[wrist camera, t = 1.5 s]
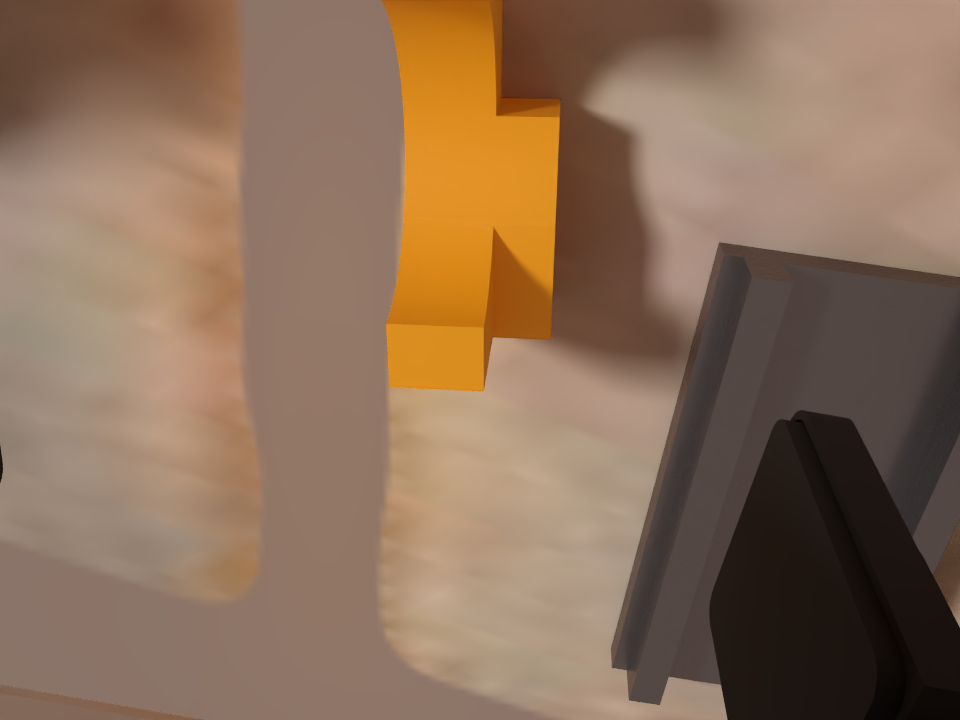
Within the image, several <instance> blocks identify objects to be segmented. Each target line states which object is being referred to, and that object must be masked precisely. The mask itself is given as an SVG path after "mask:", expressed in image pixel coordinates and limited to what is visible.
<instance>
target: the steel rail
mask: <svg viewBox="0 0 960 720" xmlns="http://www.w3.org/2000/svg"><path fill="white" fill-rule="evenodd" d="M799 410H804V411H810V412H816V413H821V414H827V415H833V416H839V417H844V418H849V419H851V420H852V421H853V423H854V424H855V426H856V428H857V430H858V432H859V434H860V436H861V438H862V440H863V442H864V444H865V446H866V448H867V450H868V452H869V454H870V456H871V457H872V459H873V461H874V463H875V465H876V467H877V469H878V471H879V473H880V475H881V477H882V479H883V481H884V483H885V485H886V487H887V489H888V491H889V493H890V495H891V497H892V499H893V501H894V503H895V504H896V506H897V508H898V510H899V512H900V514H901V516H902V518H903V520H904V522H905V524H906V526H907V528H908V530H909V532H910V534H911V536H912V538H913V540H914V542H915V544H916V546H917V548H918V550H919V551H920V553H921V554H922V555H923V557H924V559H925V561H926V563H927V565H928V567H929V569H930V571H931V573H932V575H933V574H934V572H935V570H936V567H937V565H938V563H939V561H940V559H941V557H942V555H943V553H944V551H945V549H946V547H947V545H948V543H949V540H950V538H951V536H952V534H953V532H954V530H955V528H956V526H957V524H958V522H959V520H960V277H953V276H946V275H939V274H932V273H925V272H918V271H911V270H904V269H898V268H891V267H884V266H877V265H870V264H863V263H856V262H849V261H842V260H836V259H829V258H822V257H815V256H808V255H801V254H794V253H787V252H780V251H773V250H767V249H760V248H753V247H746V246H739V245H732V244H725V243H719V246H718V249H717V253H716V257H715V261H714V264H713V268H712V272H711V276H710V279H709V283H708V287H707V291H706V295H705V298H704V302H703V306H702V310H701V313H700V317H699V321H698V325H697V328H696V332H695V336H694V340H693V343H692V347H691V351H690V355H689V358H688V362H687V366H686V370H685V373H684V377H683V381H682V385H681V388H680V392H679V396H678V400H677V403H676V407H675V411H674V415H673V418H672V422H671V426H670V430H669V433H668V437H667V441H666V445H665V448H664V452H663V456H662V460H661V463H660V467H659V471H658V475H657V478H656V482H655V486H654V490H653V493H652V497H651V501H650V505H649V508H648V512H647V516H646V520H645V523H644V527H643V531H642V535H641V538H640V542H639V546H638V550H637V553H636V557H635V561H634V565H633V568H632V572H631V576H630V580H629V583H628V587H627V591H626V595H625V598H624V602H623V606H622V610H621V614H620V617H619V621H618V625H617V629H616V632H615V636H614V640H613V644H612V647H611V657H612V668H617V669H623V670H627V680H628V694H629V700H631V701H637V702H644V703H650V704H657V705H660V702H661V699H662V696H663V693H664V690H665V687H666V683H667V680H668V677H675V678H682V679H688V680H694V681H701V682H707V683H714V684H720V685H721V681H720V676H719V670H718V665H717V659H716V654H715V649H714V643H713V638H712V632H711V627H710V620H709V607H710V599H711V594H712V591H713V588H714V585H715V582H716V579H717V577H718V574H719V571H720V569H721V566H722V563H723V561H724V558H725V555H726V552H727V550H728V547H729V544H730V542H731V539H732V536H733V534H734V531H735V528H736V526H737V523H738V520H739V517H740V515H741V512H742V509H743V507H744V504H745V501H746V499H747V496H748V493H749V490H750V488H751V485H752V482H753V480H754V477H755V474H756V472H757V469H758V466H759V463H760V461H761V458H762V455H763V453H764V450H765V447H766V445H767V442H768V439H769V436H770V434H771V431H772V429H773V427H774V425H775V423H776V422H777V421H778V420H780V419H784V420H791V418H792V417H793V415H794V414H795V413H796V412H797V411H799Z"/></svg>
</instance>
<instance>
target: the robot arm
mask: <svg viewBox="0 0 960 720" xmlns="http://www.w3.org/2000/svg"><path fill="white" fill-rule="evenodd" d="M2 473H3V462H2V455H1V447H0V482H1V479H2ZM709 620H710V627H711V632H712V638H713V643H714V649H715V654H716V659H717V665H718V670H719V676H720V681H721V686H722V692H723V697H724V703H725V708H726V713H727V719H728V720H960V627H959V625H958V623H957V622H956V620H955V618H954V616H953V614H952V612H951V610H950V608H949V606H948V604H947V602H946V600H945V598H944V596H943V594H942V592H941V590H940V588H939V586H938V584H937V582H936V581H935V579H934V577H933V575H932V573H931V571H930V569H929V567H928V565H927V563H926V561H925V559H924V557H923V555H922V554H921V553H920V551H919V550H918V548H917V546H916V544H915V542H914V540H913V538H912V536H911V534H910V532H909V530H908V528H907V526H906V524H905V522H904V520H903V518H902V516H901V514H900V512H899V510H898V508H897V506H896V504H895V503H894V501H893V499H892V497H891V495H890V493H889V491H888V489H887V487H886V485H885V483H884V481H883V479H882V477H881V475H880V473H879V471H878V469H877V467H876V465H875V463H874V461H873V459H872V457H871V456H870V454H869V452H868V450H867V448H866V446H865V444H864V442H863V440H862V438H861V436H860V434H859V432H858V430H857V428H856V426H855V424H854V423H853V421H852V420H851V419H849V418H844V417H839V416H833V415H827V414H821V413H816V412H810V411H804V410H799V411H797V412H796V413H795V414H794V415H793V417H792V418H791V420H784V419H780V420H778V421H777V422H776V423H775V425H774V427H773V429H772V431H771V434H770V436H769V439H768V442H767V445H766V447H765V450H764V453H763V455H762V458H761V461H760V463H759V466H758V469H757V472H756V474H755V477H754V480H753V482H752V485H751V488H750V490H749V493H748V496H747V499H746V501H745V504H744V507H743V509H742V512H741V515H740V517H739V520H738V523H737V526H736V528H735V531H734V534H733V536H732V539H731V542H730V544H729V547H728V550H727V552H726V555H725V558H724V561H723V563H722V566H721V569H720V571H719V574H718V577H717V579H716V582H715V585H714V588H713V591H712V594H711V599H710V607H709ZM0 720H202V719H195V718H190V717H184V716H179V715H173V714H168V713H161V712H156V711H150V710H145V709H138V708H133V707H128V706H122V705H115V704H110V703H105V702H99V701H93V700H88V699H81V698H76V697H70V696H64V695H59V694H53V693H47V692H41V691H36V690H30V689H25V688H19V687H13V686H7V685H2V684H0Z"/></svg>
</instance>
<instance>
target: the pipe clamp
mask: <svg viewBox="0 0 960 720" xmlns="http://www.w3.org/2000/svg"><path fill="white" fill-rule="evenodd" d="M381 1H382V2H383V4H384V6H385V8H386V11H387V14H388V16H389V19H390V23H391V27H392V31H393V35H394V39H395V45H396V49H397V56H398V62H399V70H400V78H401V87H402V97H403V109H404V110H403V112H404V131H405V203H404V222H403V235H402V246H401V255H400V264H399V271H398V277H397V284H396V289H395V294H394V299H393V303H392V307H391V310H390V314H389V317H388V320H387V323H386V331H387V349H388V367H389V385H390V387H395V388H417V389H440V390H463V391H484V386H485V380H486V374H487V368H488V362H489V356H490V350H491V344H492V338H493V337H499V338H524V339H550V340H551V321H552V298H553V273H554V249H555V224H556V200H557V175H558V151H559V126H560V102H561V99H532V98H502V11H503V0H381Z"/></svg>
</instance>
